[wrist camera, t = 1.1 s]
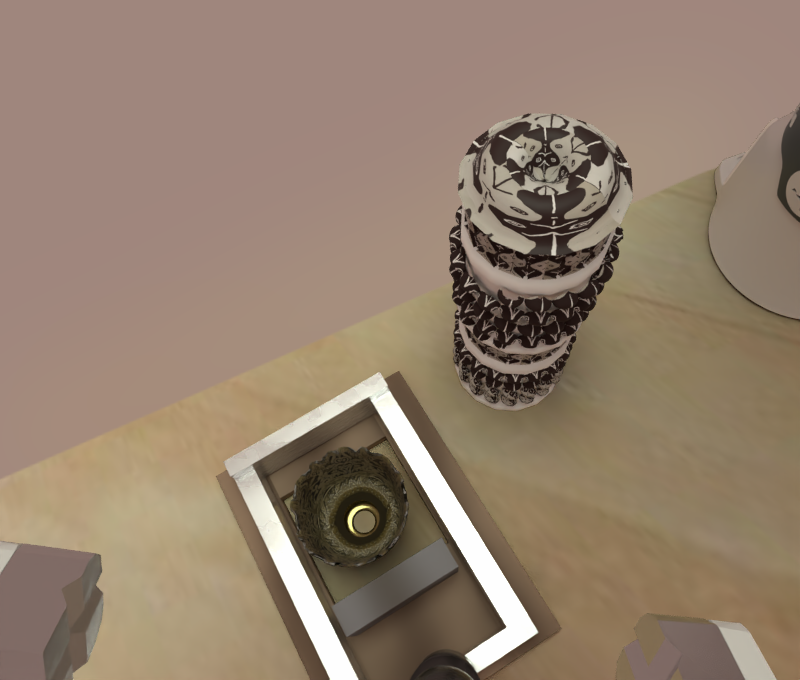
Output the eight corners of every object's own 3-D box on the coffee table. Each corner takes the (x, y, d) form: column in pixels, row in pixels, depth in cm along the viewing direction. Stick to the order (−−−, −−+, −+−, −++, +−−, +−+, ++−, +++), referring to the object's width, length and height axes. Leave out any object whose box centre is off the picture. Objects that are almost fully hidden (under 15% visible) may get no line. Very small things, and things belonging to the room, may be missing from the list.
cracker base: (399, 375, 53) (393, 346, 47) (559, 628, 45) (574, 629, 39) (220, 478, 50) (191, 461, 45) (354, 764, 42) (339, 786, 37)
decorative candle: (589, 349, 52) (695, 137, 29) (522, 439, 50) (580, 285, 27) (495, 288, 55) (524, 51, 32) (427, 371, 53) (407, 178, 30)
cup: (308, 482, 50) (283, 458, 43) (403, 461, 50) (394, 434, 43) (322, 585, 47) (298, 578, 40) (424, 562, 47) (418, 552, 40)
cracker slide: (385, 389, 51) (348, 267, 33) (543, 648, 43) (606, 667, 25) (240, 473, 49) (121, 391, 32) (378, 759, 41) (322, 862, 24)
